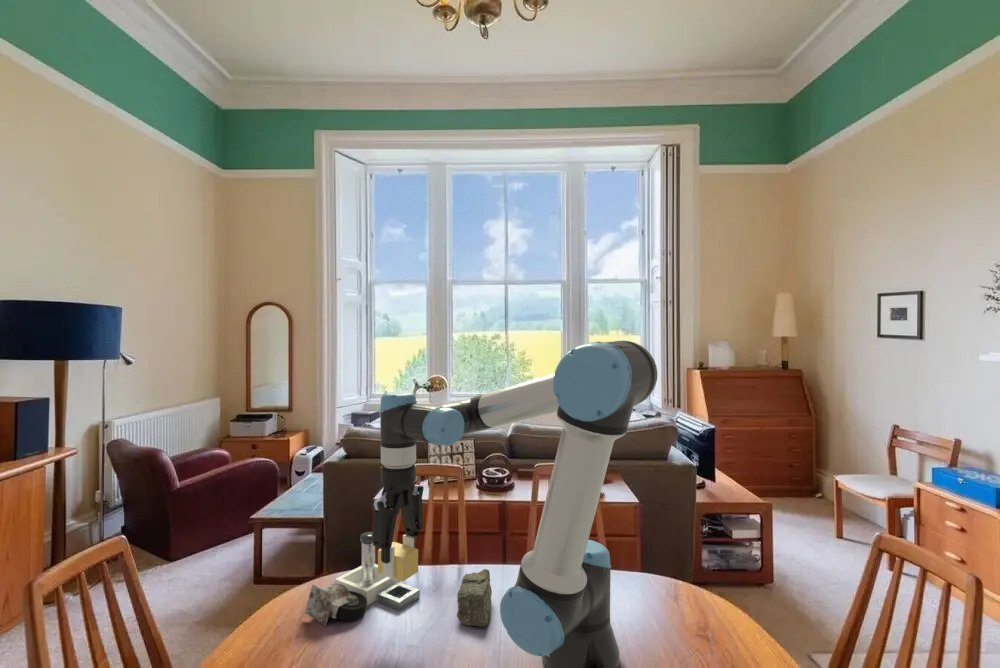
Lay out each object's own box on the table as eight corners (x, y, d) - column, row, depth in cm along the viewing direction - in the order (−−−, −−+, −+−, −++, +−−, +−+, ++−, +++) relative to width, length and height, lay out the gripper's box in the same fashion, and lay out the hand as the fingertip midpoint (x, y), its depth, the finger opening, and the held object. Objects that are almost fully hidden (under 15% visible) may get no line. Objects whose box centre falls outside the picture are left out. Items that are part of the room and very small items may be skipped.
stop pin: (368, 592, 129) (367, 539, 129) (357, 588, 131) (357, 535, 131) (379, 586, 132) (379, 534, 132) (369, 581, 134) (368, 530, 134)
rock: (447, 576, 129) (485, 561, 131) (454, 602, 129) (493, 587, 131) (454, 611, 112) (499, 594, 114) (463, 641, 112) (507, 623, 114)
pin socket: (419, 597, 128) (419, 589, 128) (399, 611, 122) (399, 602, 122) (398, 589, 131) (398, 581, 131) (377, 602, 126) (377, 594, 126)
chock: (417, 571, 115) (418, 549, 114) (402, 581, 110) (403, 558, 110) (393, 563, 118) (393, 541, 118) (377, 572, 114) (378, 550, 114)
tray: (400, 586, 133) (400, 572, 133) (366, 606, 124) (366, 591, 124) (369, 574, 139) (369, 561, 139) (335, 593, 130) (335, 579, 130)
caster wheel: (369, 621, 122) (339, 637, 113) (334, 599, 127) (302, 613, 118) (377, 593, 122) (347, 607, 114) (341, 572, 128) (310, 584, 119)
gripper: (414, 452, 123) (415, 551, 124) (353, 471, 108) (354, 583, 109) (439, 457, 119) (439, 559, 119) (378, 477, 104) (379, 593, 104)
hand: (398, 570), depth 114 cm, fingers closed on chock, 5 cm apart
